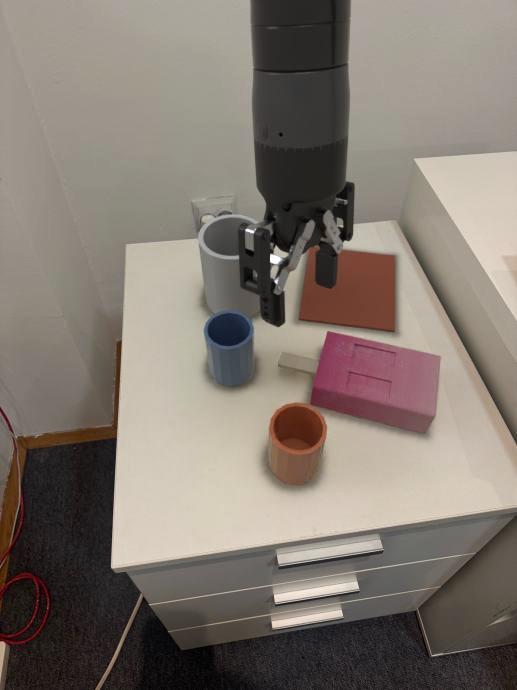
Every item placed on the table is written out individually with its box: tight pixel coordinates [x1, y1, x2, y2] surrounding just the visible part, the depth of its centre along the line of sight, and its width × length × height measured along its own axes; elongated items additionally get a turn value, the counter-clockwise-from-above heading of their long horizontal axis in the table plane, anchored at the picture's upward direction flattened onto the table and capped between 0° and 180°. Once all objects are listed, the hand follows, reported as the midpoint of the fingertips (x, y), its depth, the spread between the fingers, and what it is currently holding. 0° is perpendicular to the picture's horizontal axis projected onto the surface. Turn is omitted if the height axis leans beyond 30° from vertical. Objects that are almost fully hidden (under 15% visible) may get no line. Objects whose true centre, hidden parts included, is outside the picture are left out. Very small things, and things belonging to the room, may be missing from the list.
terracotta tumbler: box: [267, 401, 328, 486], centre depth 55 cm, size 6×6×8 cm
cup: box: [197, 213, 261, 318], centre depth 70 cm, size 9×9×12 cm
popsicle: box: [277, 330, 442, 434], centre depth 63 cm, size 9×5×20 cm
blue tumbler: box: [203, 310, 255, 388], centre depth 63 cm, size 6×6×8 cm
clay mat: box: [298, 246, 396, 333], centre depth 76 cm, size 14×16×1 cm
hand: (301, 303), depth 48 cm, fingers open, 8 cm apart
